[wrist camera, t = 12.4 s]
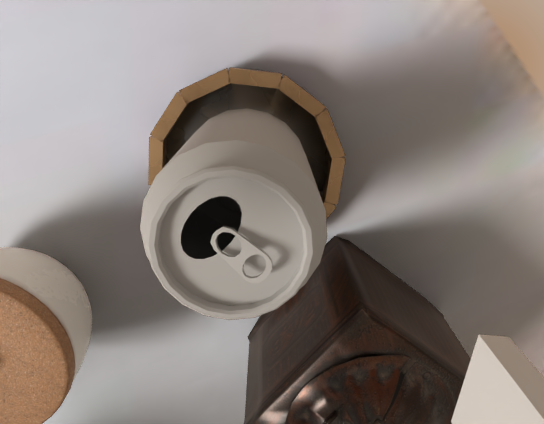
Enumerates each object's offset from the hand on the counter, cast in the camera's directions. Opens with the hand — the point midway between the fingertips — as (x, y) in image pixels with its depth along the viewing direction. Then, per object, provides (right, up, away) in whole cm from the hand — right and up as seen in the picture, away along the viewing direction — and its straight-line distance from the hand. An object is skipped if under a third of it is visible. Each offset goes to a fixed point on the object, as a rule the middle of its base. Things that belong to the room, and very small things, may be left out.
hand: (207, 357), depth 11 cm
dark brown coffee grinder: (+5, -6, +22) cm, 24 cm away
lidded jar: (-15, -2, +21) cm, 26 cm away
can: (0, +6, +17) cm, 18 cm away
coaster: (0, +7, +17) cm, 19 cm away
